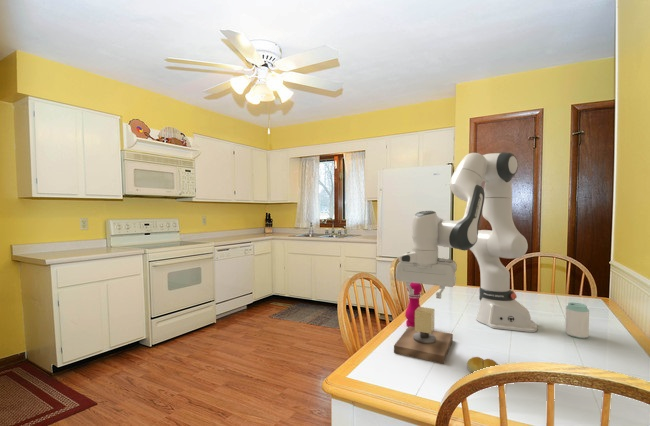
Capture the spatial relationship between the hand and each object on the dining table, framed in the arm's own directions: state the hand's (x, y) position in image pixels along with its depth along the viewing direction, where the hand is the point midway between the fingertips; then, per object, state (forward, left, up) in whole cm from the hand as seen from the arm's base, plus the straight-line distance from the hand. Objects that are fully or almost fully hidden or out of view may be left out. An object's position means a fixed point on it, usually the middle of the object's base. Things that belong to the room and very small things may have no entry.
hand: (424, 296), depth 114 cm
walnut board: (0, 0, -18) cm, 18 cm away
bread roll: (-19, +9, -18) cm, 28 cm away
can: (-49, -38, -18) cm, 65 cm away
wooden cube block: (0, 0, -12) cm, 12 cm away
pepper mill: (+8, -18, -18) cm, 27 cm away
